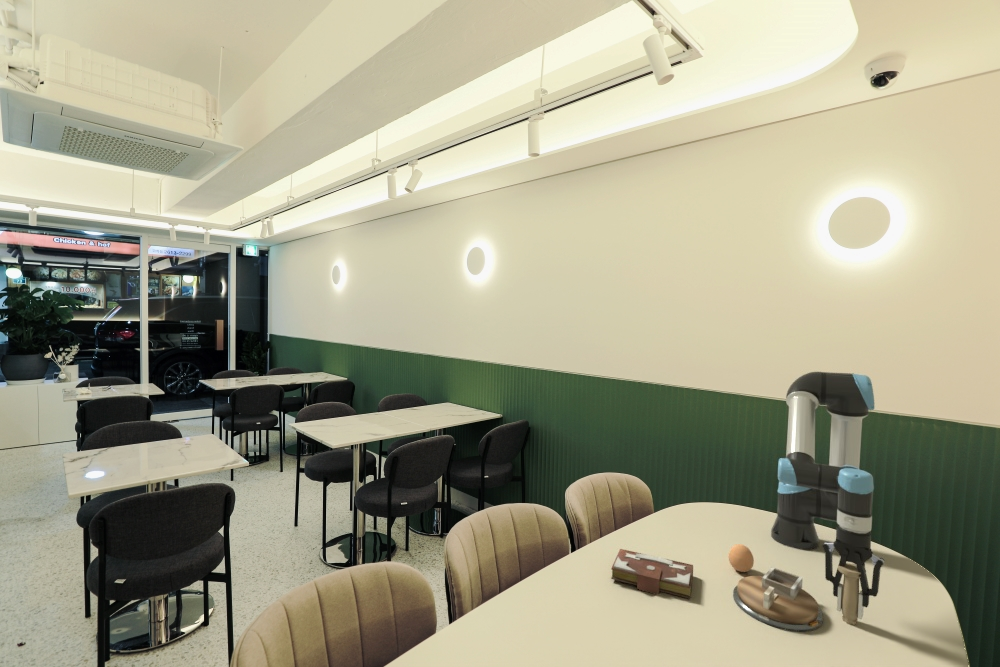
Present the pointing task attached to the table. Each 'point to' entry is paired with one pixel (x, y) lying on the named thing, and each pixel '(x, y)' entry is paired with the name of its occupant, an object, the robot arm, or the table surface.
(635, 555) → the book
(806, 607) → the dial
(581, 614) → the table surface
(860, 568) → the robot arm
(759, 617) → the base
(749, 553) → the egg
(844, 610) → the handle
